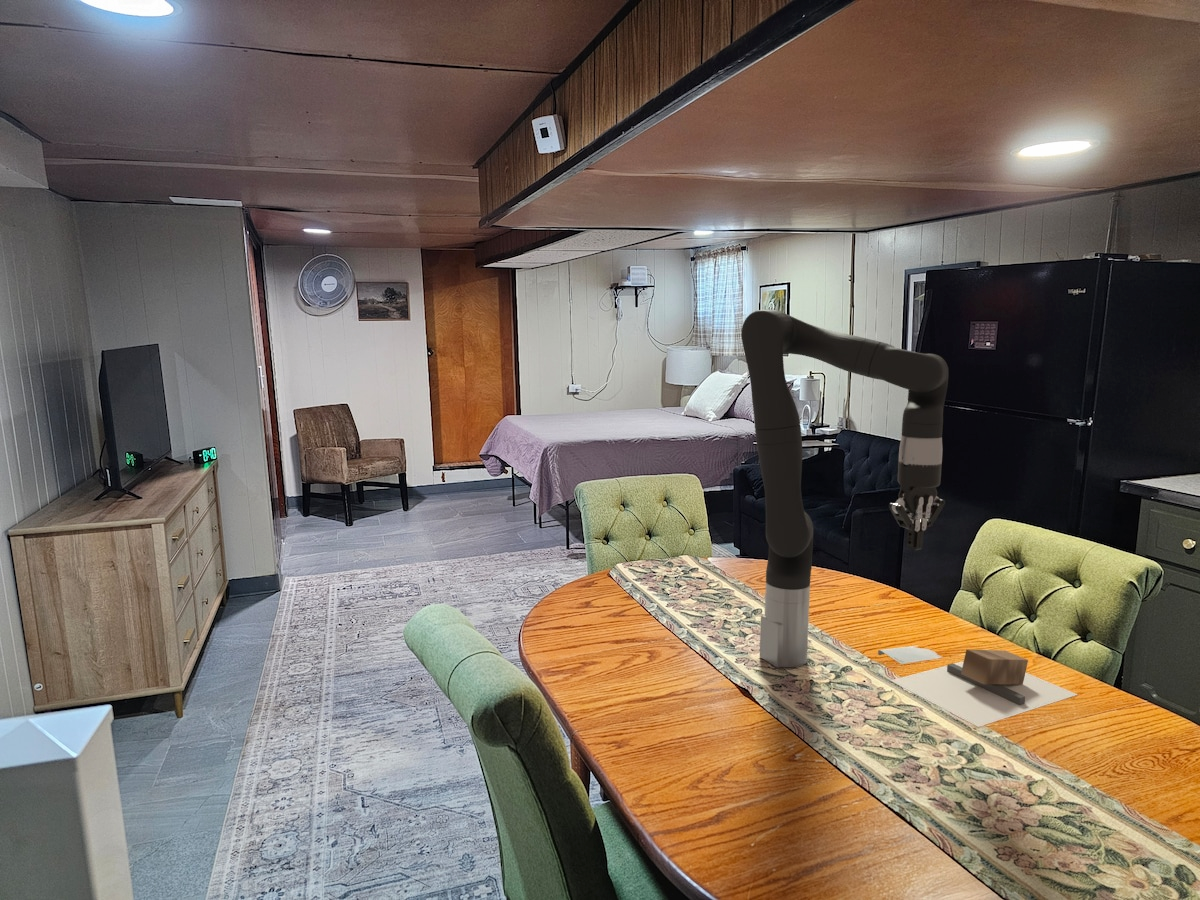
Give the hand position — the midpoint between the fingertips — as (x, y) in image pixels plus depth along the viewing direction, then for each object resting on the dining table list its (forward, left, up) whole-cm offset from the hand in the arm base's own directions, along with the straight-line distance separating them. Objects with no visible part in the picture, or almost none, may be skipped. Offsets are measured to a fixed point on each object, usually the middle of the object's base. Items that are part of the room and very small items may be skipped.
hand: (914, 548), depth 142 cm
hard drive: (+14, +10, -30) cm, 34 cm away
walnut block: (+10, -7, -23) cm, 26 cm away
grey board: (+13, -7, -29) cm, 33 cm away
